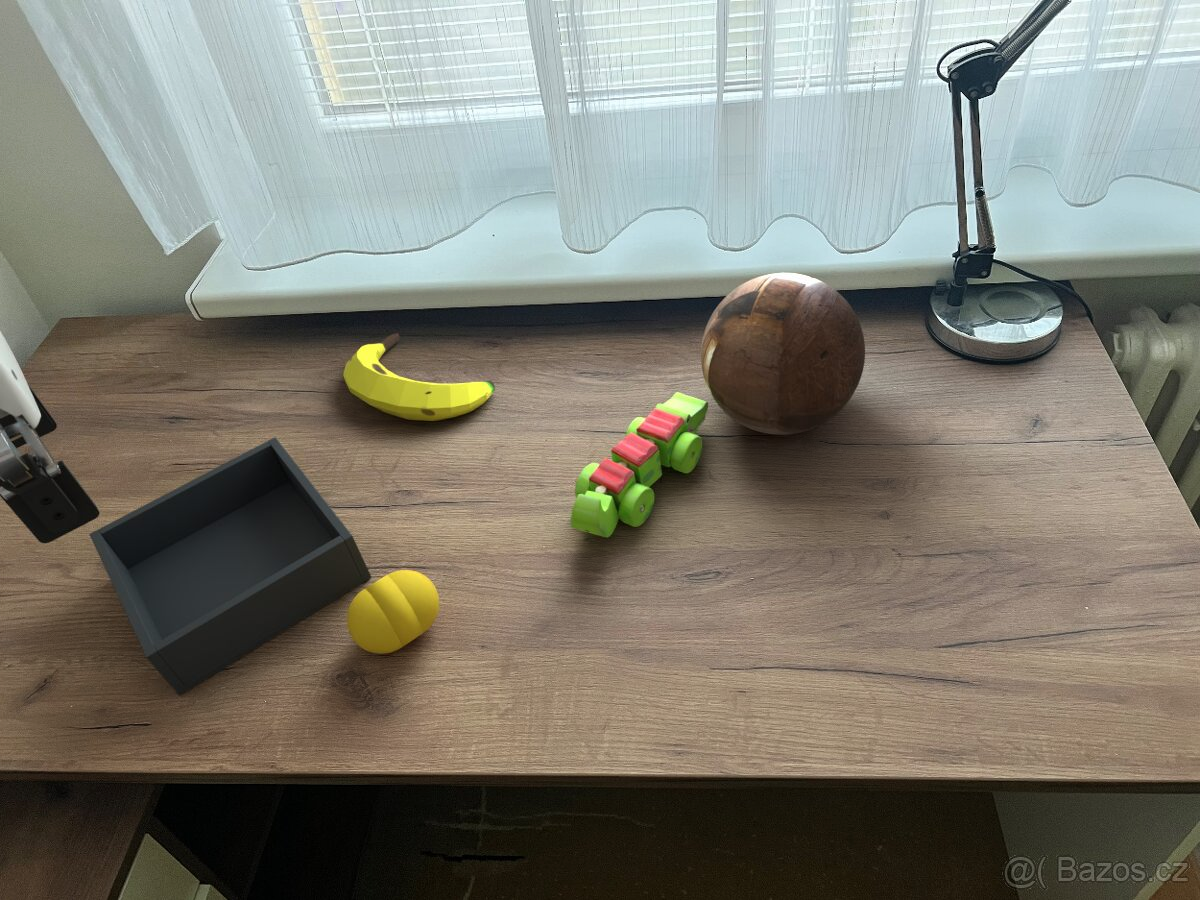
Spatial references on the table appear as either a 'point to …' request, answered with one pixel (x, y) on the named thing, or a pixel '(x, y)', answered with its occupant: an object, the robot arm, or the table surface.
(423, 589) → the yellow rounded tiered object
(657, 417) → the toy crocodile
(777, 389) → the wooden sphere
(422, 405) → the banana
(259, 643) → the crate
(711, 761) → the table surface
